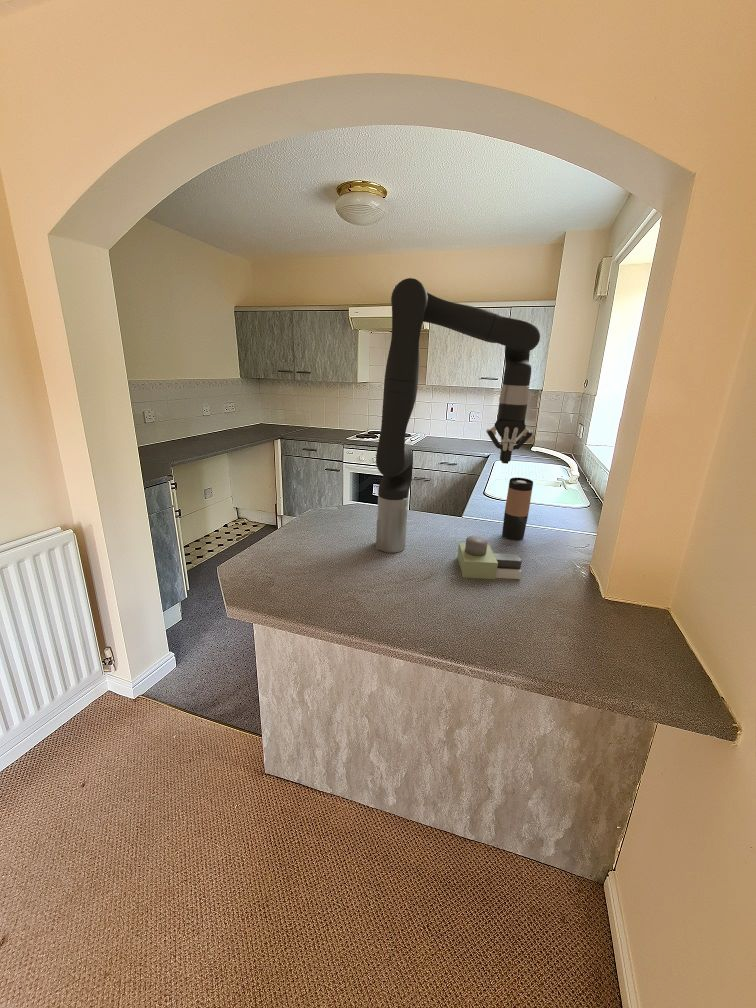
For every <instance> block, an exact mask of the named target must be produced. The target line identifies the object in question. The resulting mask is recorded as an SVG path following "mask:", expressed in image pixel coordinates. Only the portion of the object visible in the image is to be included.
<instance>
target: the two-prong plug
mask: <svg viewBox="0 0 756 1008" xmlns="http://www.w3.org/2000/svg"><path fill="white" fill-rule="evenodd" d="M456 558H457V561H458V565H459V568H460V572H461V575H462V578H467V579H469V578H471V579H472V578H473V579H484V580H485V579H486V580H488V579H489V580H496V579H509V580H521V578H522V569H521V568H520V569H502V568H497V567H498V562H497V560H496V558H495V556H494V551H493V550H492V547H491V545H490V544H489V542H488V539H486V538H484V537H482V536H478V535H472V536H467V537H466V538H465V542H458V549H457V557H456Z"/></svg>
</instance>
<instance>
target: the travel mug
mask: <svg viewBox="0 0 756 1008" xmlns="http://www.w3.org/2000/svg"><path fill="white" fill-rule="evenodd" d="M533 487H534V481H533V480H531V479H529V478H526V477H511V478H509V481H508V488H507V495H506V501H505V505H504V506H505V507H504V512H503V513H504V516H503V522H502V532H501V533H502V537H503V538H505V539H508V540H513V541H520V540H523V539H524V537H525V532H526V528H527V522H528V518H529V512H530V505H531V499H532V494H533Z"/></svg>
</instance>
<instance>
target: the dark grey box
mask: <svg viewBox="0 0 756 1008" xmlns="http://www.w3.org/2000/svg"><path fill="white" fill-rule="evenodd" d="M493 553H494V552H493ZM494 556H495V558H496V560H497V562H498V567H497V568H502V569H520V570H521V566H522V559H521V558H520V556H519V554H518V553H517V554H515V553H514V554H513V553H499V552H497V553H496V552H495V553H494Z"/></svg>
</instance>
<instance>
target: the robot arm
mask: <svg viewBox="0 0 756 1008" xmlns="http://www.w3.org/2000/svg"><path fill="white" fill-rule="evenodd" d="M390 302H391V340H390V346H389V350H388V355H387V358H386V360H387V361H386V366H385V371H384V382H383V395H382V396H383V399H382V411H381V413H382V414H381V428H380V434H379V440H378V445H377V448H376V456H375V465H376V467H377V471H378V472H379V473H380V474H381V475H382V479H381V481H380V483H379V485H378V490H377V495H378V496H377V517H376V518H377V519H376V530H375V531H376V534H375V537H376V538H375V550H377V551H380V552H385V553H399V552H400V553H401V552H403V551H404V550H405V549H406V542H407V525H408V510H409V509H408V507H409V506H408V505H409V492H410V488H411V485H412V478H413V469H414V467H413V466H414V455H413V451H412V449H411V447H410V446H409V445H408V444H407V443H406V433H407V428H408V424H409V422H410V420H411V419H410V418H411V415H412V414H413V411H414V408H415V404H416V400H417V395H418V386H419V378H420V377H419V376H420V375H419V373H420V342H421V341H420V339H421V333H422V326H423V323H427V324H428V323H429V324H433V325H436V326H441V327H443V328H447V329H449V330H451V331H455V332H457V333H459V334H463V335H465V336H469V337H471V338H474V339H477V340H481V341H483V342H487V343H490V344H491V343H492V344H499V345H502V346H504V364H505V365H504V372H503V377H502V385H501V386H502V387H501V390H500V392H499V393H500V394H499V395H500V396H499V403H498V410H497V417H496V421H495V422H494V425H493V427H491V428H490V429H489V428H487V429H486V434H487V436H488V437H489V439H490V440H491V442H492V443H493V444H494V446H495V447H496V449H500V453H499V454H500V455H499V461H500V462H501V463H502V464H507V465H508V464H509V463H510V462H511V459H512V454H513V451H514V450H520V448H521V447H522V446H523V445H524V444H525V443H526V442H527V441H528V440H529V439H530V438H531V437H532V436H533V433H532V432H531V431H530V430H528V429H527V428H526V427H527V425H526V418H527V417H526V416H527V409H528V404H529V396H530V382H531V377H532V365H531V364H530V355H531V351H532V350H534V349H536V347H537V346H538V345H539V343H540V340H541V333H540V329H539V328H538V327H537V326H536V325H535V324H533V323H531V322H529V321H525V320H521V319H517V318H512V317H507V316H503V315H500V314H499V313H495V312H492V311H489V310H486V309H485V308H480V307H476V306H472V305H467V304H461V303H457V302H453V301H448V300H445V299H442V298H440V297H437V296H435V295H433V294H432V293H429V292H427V289H426V288H425V286H424V284H423V283H422V282H421V281H420V280H418V279H416V278H413V277H407V278H404V279H402V280H400V281H399V282H398V283H397V284H396V285H395V287H394V288H393V290H392V292H391V298H390ZM496 431H497V432H496ZM497 434H498V435H499V437H500V442H499V440H498V438H497V437H496V435H497ZM520 435H521V436H520ZM519 436H520V437H519ZM517 438H518V439H517Z"/></svg>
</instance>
